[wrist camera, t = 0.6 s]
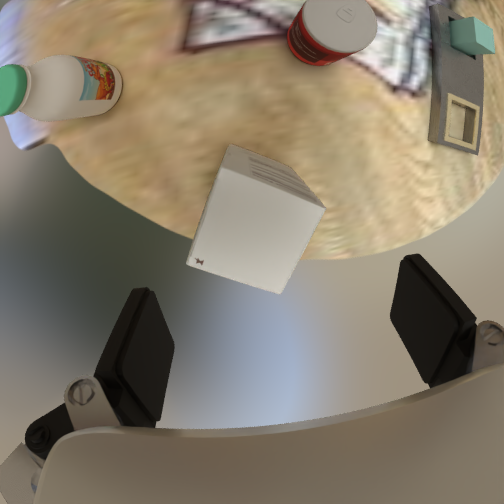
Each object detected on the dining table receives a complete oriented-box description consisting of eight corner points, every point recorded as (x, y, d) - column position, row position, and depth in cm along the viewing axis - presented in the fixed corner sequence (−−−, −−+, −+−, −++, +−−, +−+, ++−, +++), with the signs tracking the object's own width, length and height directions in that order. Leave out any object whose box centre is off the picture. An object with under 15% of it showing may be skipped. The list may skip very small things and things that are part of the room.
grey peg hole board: (429, 6, 23) (438, 3, 21) (471, 29, 24) (481, 27, 21) (427, 140, 34) (438, 143, 32) (468, 152, 35) (479, 156, 32)
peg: (442, 23, 24) (473, 16, 17) (461, 33, 25) (492, 29, 18) (444, 45, 27) (476, 41, 19) (463, 55, 27) (495, 53, 20)
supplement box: (266, 227, 41) (280, 300, 26) (205, 205, 39) (183, 269, 24) (294, 166, 37) (330, 208, 22) (229, 141, 35) (219, 164, 20)
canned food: (349, 29, 27) (384, 7, 17) (334, 75, 31) (368, 65, 21) (295, 8, 26) (314, -24, 16) (278, 55, 29) (293, 34, 20)
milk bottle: (114, 120, 32) (17, 141, 15) (71, 110, 31) (-30, 130, 13) (131, 67, 29) (40, 45, 11) (87, 61, 27) (-12, 48, 10)
